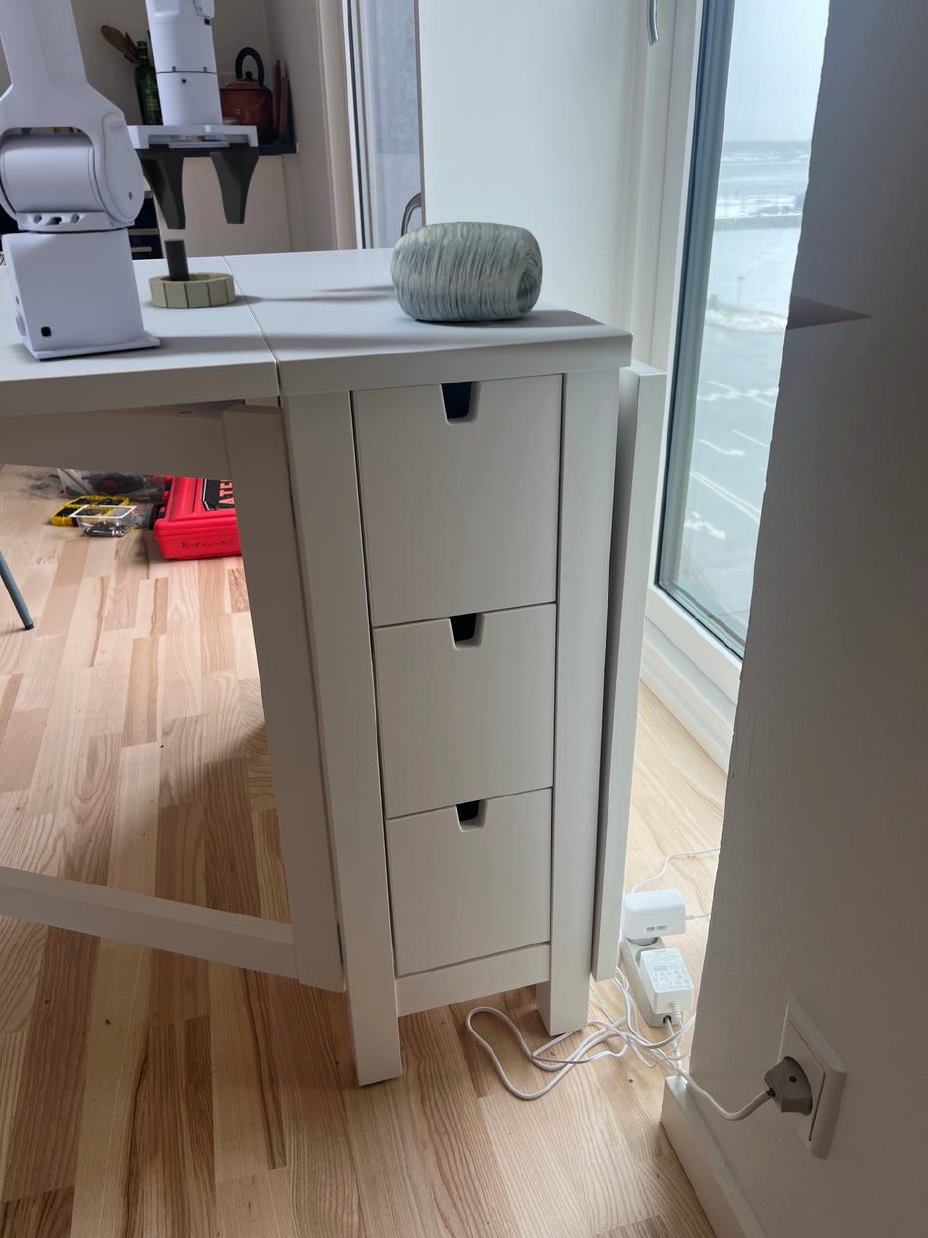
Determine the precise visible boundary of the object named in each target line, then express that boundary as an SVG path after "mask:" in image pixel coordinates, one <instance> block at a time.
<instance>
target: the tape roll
mask: <svg viewBox="0 0 928 1238" xmlns="http://www.w3.org/2000/svg"><path fill="white" fill-rule="evenodd" d="M189 277H190V281H186V282H182V281H170V277H169V274H163V275H156V276H153V277H149V278H147V279H148V280H147V281H148V285H149V286H148V288H149V292H150V293H149V294H150V298H151V299H150V300H151V303H152V305H153V306H154V307H158V308H164V309H165V308H166V309H167V308H168V309H188V308H190V309H194V308H195V309H196V308H208V307H215V306H221V305H227V304H230V303H233V302H235V301H236V300H237V298H236V297H237V296H236V288H235V280H234V276H233V275H232V274H230V273H226V272H211V271H210V272H207V271H206V272H201V271H200V272H199V271H198V272H189Z"/></svg>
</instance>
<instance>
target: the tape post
mask: <svg viewBox="0 0 928 1238" xmlns="http://www.w3.org/2000/svg"><path fill="white" fill-rule="evenodd" d="M163 243H164V250H165V256H166V263H167V269H168V275H169V277H170V281H182V282H186V281H190V277H189V273H190V271H189V264H188V258H187V256H188V255H187V250H186V244H185V243H186V241H185V239H183V238H174V239H173V238H172V239H171V238H170V239H164V240H163Z"/></svg>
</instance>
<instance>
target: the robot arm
mask: <svg viewBox="0 0 928 1238" xmlns="http://www.w3.org/2000/svg"><path fill="white" fill-rule="evenodd" d="M145 6H146V7H145V8H146V14H147V20H148V27H149V34H150V42H151V48H152V54H153V55H152V56H153V61H154V67H155V69H154V70H155V74H156V75H155V77H156V81H157V89H158V97H159V103H160V110H161V115H162V122H163V123H162V124H163V125H127V120H126V119H125V113H124V112H123V111H122V110H121V109H120V108H119V107H118V106H117V105H115V104H114V102H112V101H110V99H108V98H107V97H105V96H104V95H103V94H102V93H100V92H99V91H98V90H97V89H95V88H94V87H93V86H92V85H90V83H89V82H88V79H87V75H86V71H85V65H84V60H83V55H82V50H81V46H80V45H81V44H80V41H79V36H78V31H77V26H76V22H75V17H74V12H73V6H72V1H71V0H0V41H1V44H2V49H3V52H4V56H5V61H6V64H7V68H8V73H9V77H10V81H11V84H10V85H9V86H8V87H7V89H6V91H4V93H3V94H2V95H1V96H0V205H1V206H2V208H3V210H4V211H5V213H7V214H8V215H9V217H11V218H12V219H13V220H15V221H17V222H16V223H17V226H18V230H19V231H26V232H18V233H7V234H6V233H5V234H3V235H2V236H1V246H2V247H1V248H2V252H3V258H4V262H5V267H6V272H7V273H6V274H7V277H8V281H9V285H10V290H11V294H12V298H13V302H14V303H13V304H14V307H15V312H14V316H15V317H14V318H15V321H16V325H17V329H18V333H19V335H20V336H21V337H22V339H21V340H22V344H23V345H24V346H25V348H27V350H28V351H29V352H30V354H32V356H33V357H34V358H35V359H38V360H39V359H40V360H41V359H49V358H59V357H66V356H68V357H69V356H76V355H86V354H95V353H96V354H97V353H104V352H114V351H122V350H129V349H130V350H131V349H140V348H148V347H157V346H160V345H161V342H160V339H159V338H157V337H156V336H154V335H153V334H151V333H150V332H148V331H147V330H145V326H144V325H145V324H144V320H143V314H142V308H141V303H140V296H139V291H138V284H137V278H136V273H135V268H134V267H135V266H134V262H133V261H134V260H133V256H132V249H131V243H130V239H129V232H128V228H127V227H131V226H135V225H136V224H135V219H136V218H137V217H138V215H139V214H140V211H141V209H142V207H143V205H144V201H145V181H146V182H147V184H148V186H149V187H150V189H151V191H152V193H153V195H154V197H155V199H156V202H157V204H158V206H159V209H160V211H161V214H162V216H163V219H164V223H165V225H166V228H167V229H168V230H177V231H181V230H186V225H187V224H186V212H185V211H186V210H185V203H184V194H183V172H184V171H183V170H184V160H185V154H184V153H183V152H174V150H173V148H174V149H175V148H177V149H179V148H181V149H182V148H183V149H184V148H219V150H218V151H210V152H209V156H210V160H211V161H212V164H213V167H214V169H215V172H216V176H217V180H218V184H219V187H220V193H221V200H222V207H223V213H224V217H225V221H226V224H228V225H229V224H231V225H245V219H246V210H247V201H248V194H249V189H250V184H251V181H252V177H253V174H254V172H255V169H256V166H257V164H258V162H259V160H260V152H259V151H260V150H259V148H258V147H259V142H258V141H259V140H258V133H257V132H258V131H257V125H228V124H227V125H226V124H224V122H223V121H224V120H223V115H222V106H221V97H220V89H219V81H218V71H217V64H216V63H217V62H216V55H215V46H214V38H213V31H212V22H211V21H212V20H211V19H213V18H215V12H216V9H215V2H214V0H145ZM66 127H67V128H68V127H70V128H75V129H79V130H80V131H82V132H54V133H53V132H51V133H50V132H49V133H33V131H34V130H35V128H66ZM186 136H204V139H205V140H209V141H186ZM184 140H185V141H184ZM211 140H214V141H211ZM215 140H217V141H215ZM251 147H252V148H251ZM256 147H257V148H256ZM136 149H138V150H136Z"/></svg>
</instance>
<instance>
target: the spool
mask: <svg viewBox="0 0 928 1238" xmlns="http://www.w3.org/2000/svg"><path fill="white" fill-rule="evenodd" d="M542 257H543V256H542V253H541V248H540V245H539V242H538V240H537V239H536V237H535V236H534V234H533V233H532V232H531V231H530V230H528V229H527V228H526V227H521V226H516V225H511V224H503V223H496V222H483V221H453V222H438V223H432V224H427V225H424V226H420V227H418V228H415V229H413V230H410V231H408V232H407V233H405V234H403V235H402V236H401V237H400V238H399V239H398V240H397V242H396V243H395V245H394V247H392V249H391V252H390V259H389V264H390V274H391V282H392V286H393V293H394V296H395V299H396V301H397V303H398V305H399V307H400V309H401V310H402V312H404V314H405V315H407V316H409V317H411V318H412V319H414V320H423V321H428V322H432V321H435V322H464V321H491V320H505V319H506V320H507V319H510V320H512V319H518V318H520V317H523V316H526V315H527V314H530V312H531V311H532V310H533V308H534V307H535V306H536V304H537V303H538V300H539V297H540V294H541V290H542V289H541V287H542V283H543V272H544V271H543V270H544V269H543V268H544V267H543V258H542Z"/></svg>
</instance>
